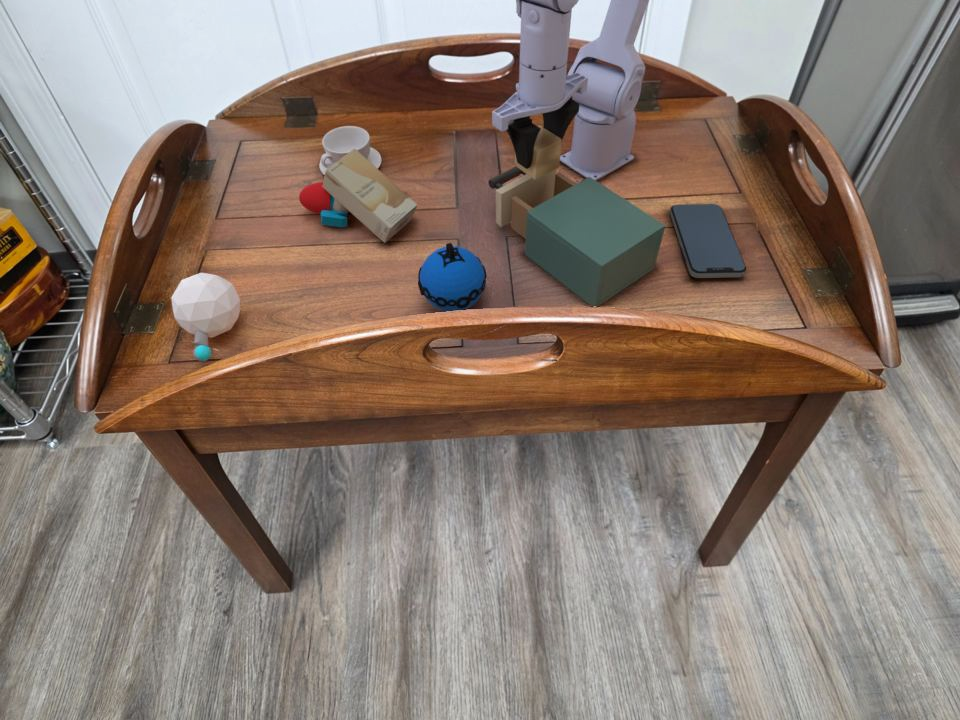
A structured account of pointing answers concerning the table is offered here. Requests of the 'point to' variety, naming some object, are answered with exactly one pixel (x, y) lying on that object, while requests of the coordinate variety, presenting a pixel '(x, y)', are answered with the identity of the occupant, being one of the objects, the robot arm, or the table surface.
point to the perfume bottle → (205, 309)
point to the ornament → (452, 278)
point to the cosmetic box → (369, 195)
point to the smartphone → (707, 241)
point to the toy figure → (324, 205)
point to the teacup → (347, 146)
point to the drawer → (524, 195)
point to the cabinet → (592, 240)
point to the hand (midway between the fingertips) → (537, 157)
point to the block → (543, 154)
